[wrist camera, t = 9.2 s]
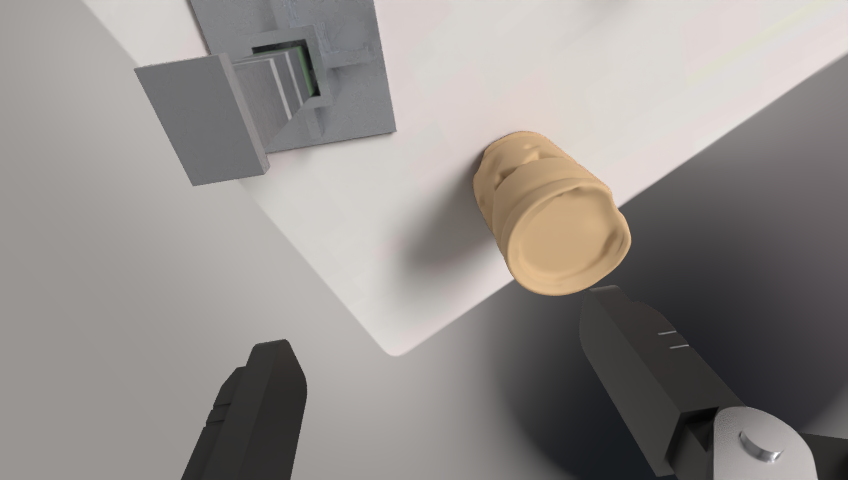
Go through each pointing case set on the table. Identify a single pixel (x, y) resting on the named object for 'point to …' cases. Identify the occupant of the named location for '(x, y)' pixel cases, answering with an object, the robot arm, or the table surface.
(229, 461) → the robot arm
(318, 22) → the stand
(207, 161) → the column
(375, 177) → the table surface
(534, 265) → the container
